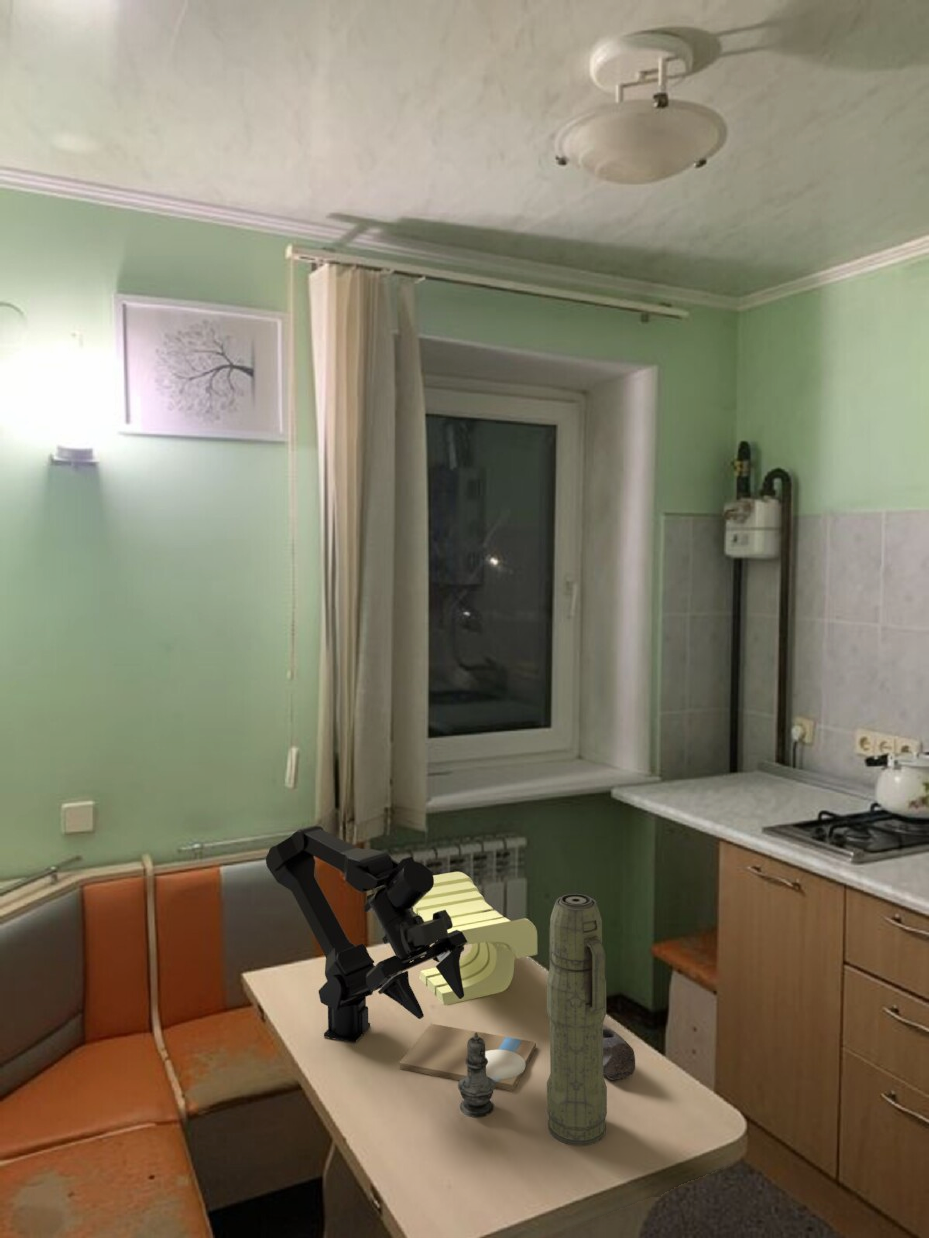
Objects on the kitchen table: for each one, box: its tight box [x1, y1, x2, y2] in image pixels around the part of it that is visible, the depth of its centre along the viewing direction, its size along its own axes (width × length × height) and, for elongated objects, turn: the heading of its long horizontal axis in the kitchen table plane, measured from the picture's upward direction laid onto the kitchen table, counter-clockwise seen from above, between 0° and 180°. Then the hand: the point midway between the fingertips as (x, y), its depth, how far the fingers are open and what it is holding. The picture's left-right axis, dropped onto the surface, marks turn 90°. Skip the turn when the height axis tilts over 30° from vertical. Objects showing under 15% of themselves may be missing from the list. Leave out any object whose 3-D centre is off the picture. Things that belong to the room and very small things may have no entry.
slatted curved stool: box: [412, 871, 538, 1006], centre depth 184 cm, size 30×16×18 cm, turn 25°
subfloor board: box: [398, 1023, 537, 1091], centre depth 156 cm, size 20×14×1 cm
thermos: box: [546, 893, 608, 1146], centre depth 136 cm, size 9×12×35 cm
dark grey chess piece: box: [457, 1033, 496, 1118], centre depth 142 cm, size 6×6×12 cm
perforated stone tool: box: [603, 1024, 636, 1081], centre depth 154 cm, size 15×5×7 cm, turn 24°
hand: (442, 1007), depth 147 cm, fingers open, 9 cm apart
